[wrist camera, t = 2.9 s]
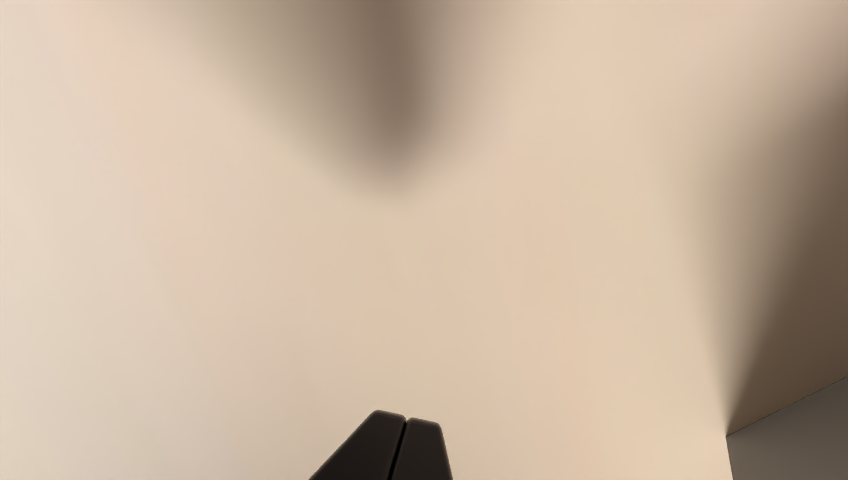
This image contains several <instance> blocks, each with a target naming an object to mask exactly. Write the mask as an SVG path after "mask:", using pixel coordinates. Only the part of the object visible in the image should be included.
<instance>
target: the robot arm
mask: <svg viewBox="0 0 848 480" xmlns="http://www.w3.org/2000/svg"><path fill="white" fill-rule="evenodd" d="M406 422H407V423H406ZM309 480H453V477H452V473H451V469H450V464H449V460H448V455H447V451H446V446H445V442H444V437H443V433H442V429H441V427H440V425H439V424H438V423H435V422H431V421H427V420H422V419H418V418H410V419H409V420H408V421H407V420H406V418H405V417H404V416H403V415H400V414H395V413H391V412H386V411H382V410H377V411H374V412H373V413H371V414H370V415H369V416H368V417H367V418H366V420H365V421H364V422H363V423H362V424H361V425H360V426H359V427H358V428H357V429H356V430H355V431H354V432H353V433H352V434H351V435H350V436H349V437H348V439H347V440H346V441H345V442H344V443H343V444H342V445H341V446H340V447H339V448H338V449H337V450H336V451H335V452H334V453H333V454H332V455H331V456H330V457H329V459H328V460H327V461H326V462H325V463H324V464H323V465H322V466H321V467H320V468H319V469H318V470H317V471H316V472H315V473H314V474H313V475H312V476H311V478H310V479H309Z"/></svg>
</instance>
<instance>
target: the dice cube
mask: <svg viewBox="0 0 848 480" xmlns="http://www.w3.org/2000/svg"><path fill="white" fill-rule="evenodd" d="M726 441H727V447H728V453H729V459H730V465H731V471H732V476H733V480H848V377H846V378H843V379H841V380H839V381H837V382H835V383H833V384H831V385H829V386H827V387H825V388H823V389H821V390H819V391H817V392H815V393H813V394H811V395H809V396H807V397H805V398H803V399H801V400H799V401H797V402H795V403H793V404H791V405H789V406H787V407H785V408H783V409H781V410H779V411H777V412H775V413H773V414H771V415H769V416H767V417H765V418H763V419H761V420H759V421H757V422H755V423H753V424H751V425H749V426H747V427H744V428H742V429H740V430H738V431H736V432H734V433H732V434H730V435H728V436H726Z"/></svg>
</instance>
